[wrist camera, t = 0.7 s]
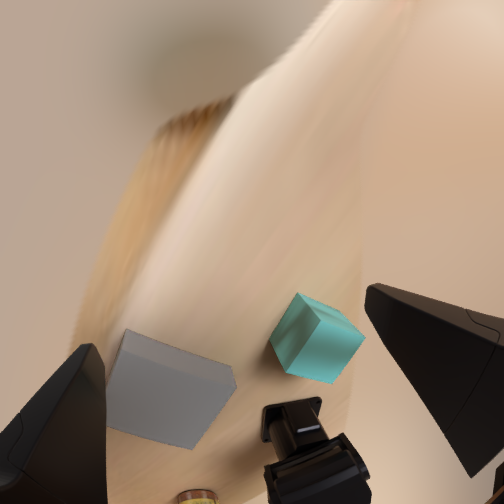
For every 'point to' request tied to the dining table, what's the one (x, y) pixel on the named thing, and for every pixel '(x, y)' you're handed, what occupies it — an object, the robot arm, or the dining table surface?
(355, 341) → the teal cube
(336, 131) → the dining table surface
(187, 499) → the sauce bottle
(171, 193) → the dining table surface
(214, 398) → the gray plinth
